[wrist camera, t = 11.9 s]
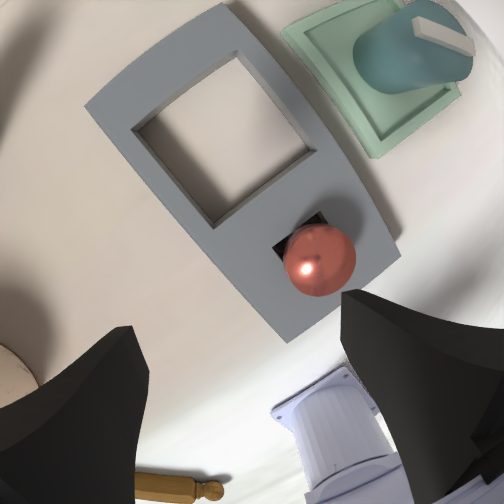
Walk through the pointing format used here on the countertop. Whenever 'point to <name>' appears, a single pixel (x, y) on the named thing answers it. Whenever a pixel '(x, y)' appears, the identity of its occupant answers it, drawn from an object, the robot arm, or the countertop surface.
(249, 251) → the housing
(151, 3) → the countertop surface
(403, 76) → the rotary knob
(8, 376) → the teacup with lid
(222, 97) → the countertop surface
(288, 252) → the plunger
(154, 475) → the tap handle
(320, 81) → the tray
